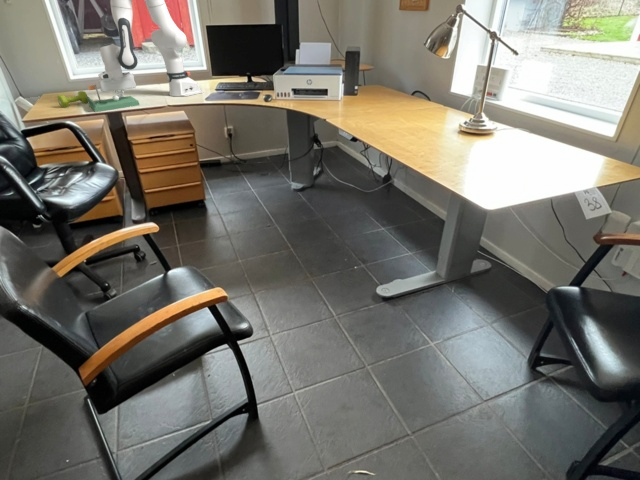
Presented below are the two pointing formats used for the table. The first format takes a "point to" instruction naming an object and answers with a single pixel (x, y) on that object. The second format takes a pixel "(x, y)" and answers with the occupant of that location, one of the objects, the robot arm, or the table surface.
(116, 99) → the ball
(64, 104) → the dumbbell
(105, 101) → the putting mat
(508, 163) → the table surface
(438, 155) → the table surface
